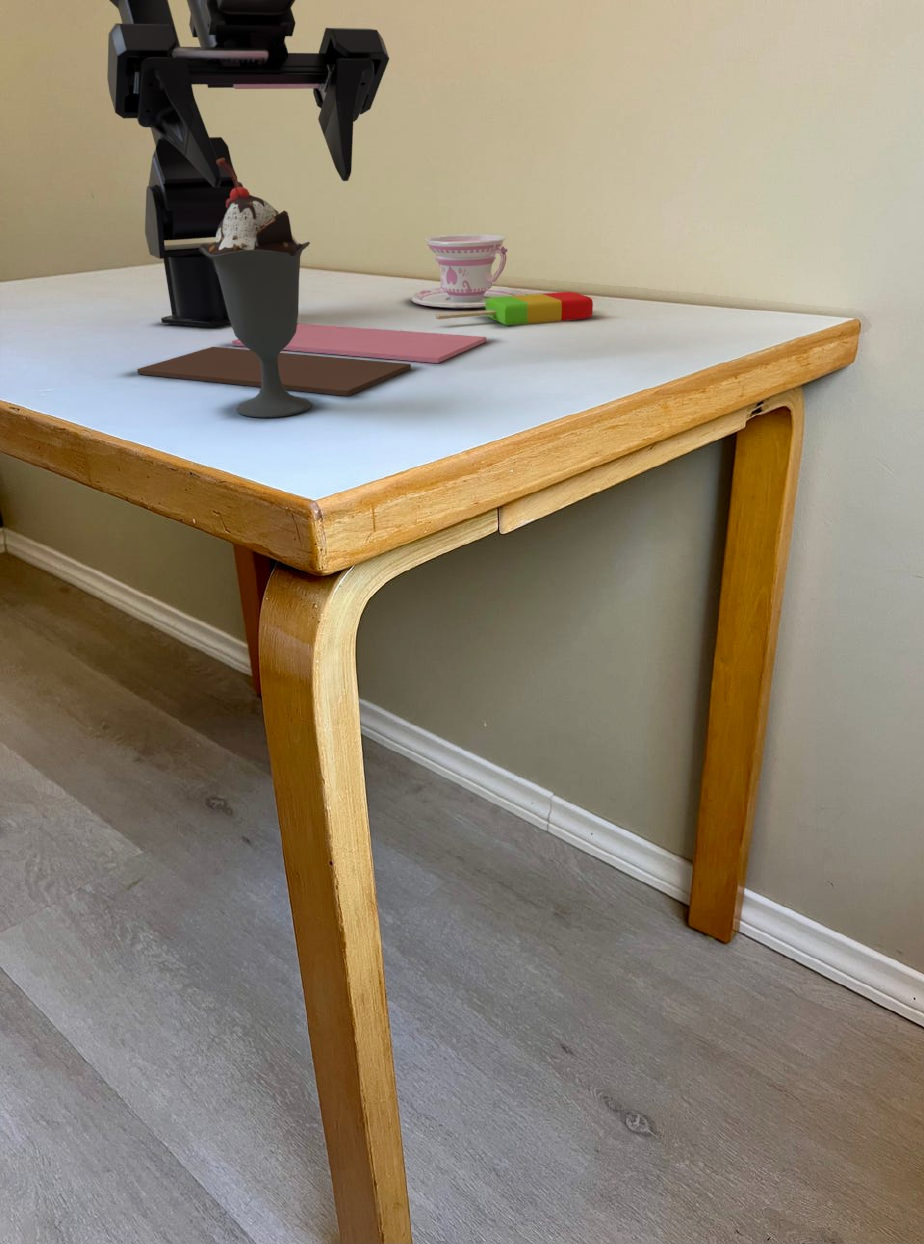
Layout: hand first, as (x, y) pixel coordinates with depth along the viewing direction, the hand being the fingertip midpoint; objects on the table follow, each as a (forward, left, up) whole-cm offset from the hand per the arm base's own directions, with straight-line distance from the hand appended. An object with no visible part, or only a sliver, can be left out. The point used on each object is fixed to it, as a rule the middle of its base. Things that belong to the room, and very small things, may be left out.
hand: (284, 180), depth 66 cm
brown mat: (-3, +1, -13) cm, 14 cm away
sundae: (+3, -8, -14) cm, 16 cm away
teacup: (-4, +36, -14) cm, 38 cm away
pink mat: (-3, +12, -13) cm, 18 cm away
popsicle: (+5, +27, -14) cm, 30 cm away
